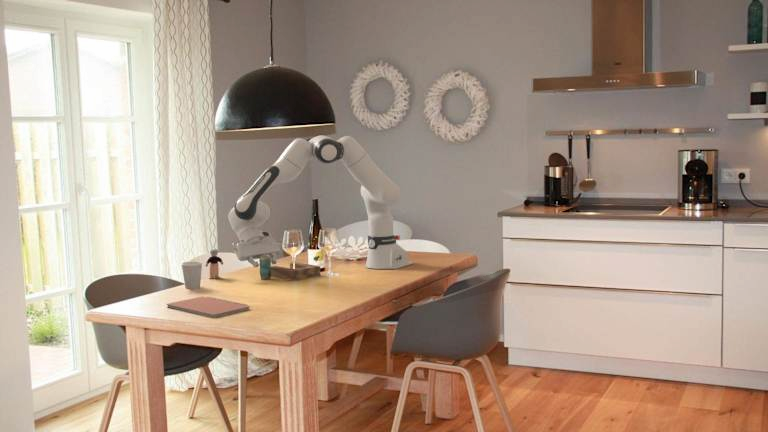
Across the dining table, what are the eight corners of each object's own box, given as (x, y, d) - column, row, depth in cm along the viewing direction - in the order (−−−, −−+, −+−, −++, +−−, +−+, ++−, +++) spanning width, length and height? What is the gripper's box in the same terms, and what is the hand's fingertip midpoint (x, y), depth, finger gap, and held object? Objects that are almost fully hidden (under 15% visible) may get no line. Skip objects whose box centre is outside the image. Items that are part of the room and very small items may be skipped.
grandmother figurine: (209, 279, 341) (208, 249, 340) (204, 278, 344) (203, 248, 343) (225, 277, 346) (224, 247, 345) (220, 275, 349) (219, 246, 348)
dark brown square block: (296, 271, 357) (296, 262, 357) (320, 275, 346) (320, 266, 346) (269, 276, 347) (268, 266, 346) (292, 280, 336) (292, 271, 335)
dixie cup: (177, 289, 322) (176, 264, 321) (189, 285, 330) (188, 260, 329) (195, 290, 319) (194, 265, 318) (207, 286, 327) (206, 261, 326)
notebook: (252, 310, 286) (252, 304, 285) (214, 319, 273) (213, 313, 273) (204, 300, 303) (204, 295, 303) (166, 308, 290) (166, 303, 290)
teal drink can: (266, 277, 344) (265, 253, 343) (273, 278, 341) (272, 255, 340) (257, 278, 341) (257, 255, 340) (264, 280, 338) (263, 256, 337)
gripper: (233, 237, 337) (248, 263, 331) (273, 232, 351) (288, 256, 345) (227, 247, 340) (242, 272, 335) (267, 241, 355) (281, 266, 349)
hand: (265, 264), depth 340 cm, fingers open, 8 cm apart
